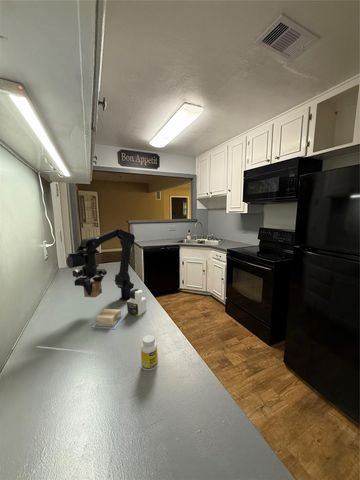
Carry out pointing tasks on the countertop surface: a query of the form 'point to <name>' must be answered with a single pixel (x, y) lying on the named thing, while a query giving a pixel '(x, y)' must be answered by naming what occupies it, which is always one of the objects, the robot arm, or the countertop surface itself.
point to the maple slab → (108, 317)
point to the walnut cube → (94, 289)
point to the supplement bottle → (149, 353)
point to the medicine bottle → (136, 303)
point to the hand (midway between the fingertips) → (93, 292)
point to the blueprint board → (109, 326)
